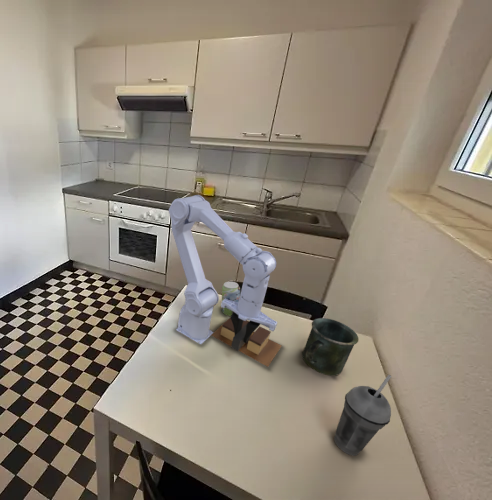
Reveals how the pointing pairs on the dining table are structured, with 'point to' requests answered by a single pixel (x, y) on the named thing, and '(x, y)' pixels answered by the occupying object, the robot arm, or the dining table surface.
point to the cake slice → (258, 340)
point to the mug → (329, 346)
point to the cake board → (263, 357)
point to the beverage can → (230, 295)
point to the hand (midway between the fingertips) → (241, 338)
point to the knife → (239, 339)
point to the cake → (230, 329)
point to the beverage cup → (362, 418)
